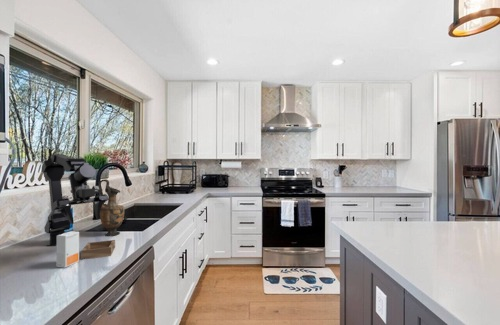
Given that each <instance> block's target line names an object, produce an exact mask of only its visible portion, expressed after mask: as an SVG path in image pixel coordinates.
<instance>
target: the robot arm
mask: <svg viewBox="0 0 500 325" xmlns="http://www.w3.org/2000/svg"><path fill="white" fill-rule="evenodd" d="M65 171H66V172H71V173H70V175H69V176H68V180H69V184H70V188H71V190H70V193H71V195H72V199H71V200H70V199H69V198H63V189H62V179H63V177H64V175H65ZM41 172H42V174H43V177H44V178H45V179H46V180H47V181H48V186H49V187H48V188H49V198H50V208H51V211H50V213H49V214H48V216H47V220H46V223H45V225H44V233H47V234H48V235H49V242H48V243H47V244H46V247H50V246H57V235H61V234H63V233H66V230H67V231H68V230H70V228H71V225H74V217H73V213H72V206H75V205H83V204H89V203H93V206H92V207H93V211H94V216H95V218H96V220H100V210H101V207H102V204H104V205H105V204H106V203H107V201H108V200H109V197H108V194H107V193H103V195H100V189H99V186H98V185H93V186H92V187H91V188H90V186H89V185H88V181H89V180H90V179H92V178H93V177H94V176H95V175H96V169H95V167H94V166H92V165H90V163H89V162H88V161H86V159H85V158H84V157H83V158H81V157H80V158H79V157H78V158H77V157H71V156H68V155H66V154H63V153H61V154H60V153H59V154H57V153H54V154H51V156H50V157H49V158H47V159H46V160H44V161H43V163H42V166H41Z"/></svg>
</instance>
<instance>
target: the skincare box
mask: <svg viewBox="0 0 500 325" xmlns="http://www.w3.org/2000/svg"><path fill="white" fill-rule="evenodd" d="M55 259H56V261H55V262H56V265H55V266H56V267H57V268H65V269H66V268H68V267H70V266H72V265H74V264H76V263H79V262H80V232H79V231H74V230H71V231H67V232H65V233H63V234H61V235H57V245H56V258H55Z"/></svg>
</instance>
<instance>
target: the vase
mask: <svg viewBox="0 0 500 325" xmlns="http://www.w3.org/2000/svg"><path fill="white" fill-rule="evenodd" d="M103 182H105V183H106V184H105V187H104V188H105V189H104V192H105V194H106V195H107V196H108V199H109V200H107V201H108V202H107V204H106V205H105V203H104V204H102V207H101V210H100V215H99V220H100V222H101V225H102V226H103V227H104V228H105V229H107V233H105V234H104V236H105V237H114V236H118V235H120V234H121V233H120V231H118V228H119V227H120V226H121V225H122V223H123V222H124V218H125V207H124V205H120V204H118V203H117V195H118V194H121V190H120V189H117V188H115V187H112V186H110V181H109V180H108V179H101V180H99V182H98V183H97V186H99V189H100V193H99V195H103V194H104V193H103V188H102V183H103Z"/></svg>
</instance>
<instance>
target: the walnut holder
mask: <svg viewBox="0 0 500 325" xmlns="http://www.w3.org/2000/svg"><path fill="white" fill-rule="evenodd" d="M115 248H116V239H110V240H101V241H92V242H91V241H90V242H87V244H86V245H85V246H84V247H83V248H82V249H81V251H80V258H81V261H83V260H88V259H96V258H97V259H98V258H104V257H112V255H113V253H114V250H115Z"/></svg>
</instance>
